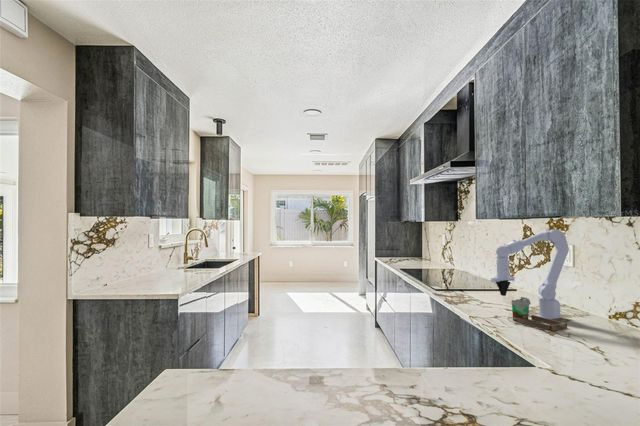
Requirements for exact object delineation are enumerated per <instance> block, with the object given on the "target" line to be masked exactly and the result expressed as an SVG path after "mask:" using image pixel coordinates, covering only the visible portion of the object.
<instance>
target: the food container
mask: <svg viewBox="0 0 640 426" xmlns="http://www.w3.org/2000/svg"><path fill="white" fill-rule="evenodd" d="M530 305H532V304H531V299H530V298H528V297H523V296H520V299H515V300H514V299H511V310H512V311H511V312H512V321H514V322H517V317H520V318H523V319H527V320H529V317H530V316H529V314H530Z"/></svg>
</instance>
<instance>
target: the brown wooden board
mask: <svg viewBox="0 0 640 426" xmlns="http://www.w3.org/2000/svg"><path fill="white" fill-rule="evenodd" d="M535 315H536V314H531V316H530V317H531V320H530V319H528V320H527V319H523V318H520V317H517V321H516V323H521V324H525V325H528V326H532V327H535V328H537V329H538V328H539V329H543V330H547V331H556V330H562V329H563V330H564V329H567V328H568V322H563V321H558V320H555V319H547V318H543V317H539V316H535Z"/></svg>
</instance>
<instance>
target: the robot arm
mask: <svg viewBox="0 0 640 426" xmlns="http://www.w3.org/2000/svg"><path fill="white" fill-rule="evenodd" d="M541 241H542V242H543V241H546V242H550V243H551V244H552V245H553V246H554V248H555V253H554V255H553V257H552V258H553V259H552V261H551V263H550V267H549V269H548V270H547V271H548V272H547V274H546V276H545V279H544V280H543V282H542V284H541V285H540V286H539V287H538V289H537V290H538V294H539V295H540V296H539V297H538V314H534V315H535V316H539V317H543V318H547V319H551V320H555V319H556V320H557V319H561V318H563V316H561V303H560V301H559V300H558V299H556V296H557V291H556V289H557V283H558V280H559V277H560V274H561V272H562V269H563V266H564V264H565V261H566V259H567V256H568V253H569V252H570V247H569V244H568V241H567V237H566V235H565V233H564V232H562V230H560V229H548V230H545V231H541V232H539V233H536V234H534V235H532V236H529V237H528V238H527V237H526V238H525V239H522V240H520V239H515V238H514V239H512V241H510V242H509V243H508V242H507V243H503V245H500V246H498V247H497V248H496V249H495V253H496V276H495V277H492V278H491V279H490V281H491V283H494V284H495V285H496V286H497V287H498V290H499V293H500V294H499V295H500V296H504V297H505V296H507V292H508V290H509V287H510V285H511V282H512V281H513V282H514V281H515V276H510V262H509V261H510V260H509V255H513V254H516V253H518V252H521V251H523V250H524V249H525V247H527V246H529V245H532V244H535V243H537V242H541Z"/></svg>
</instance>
